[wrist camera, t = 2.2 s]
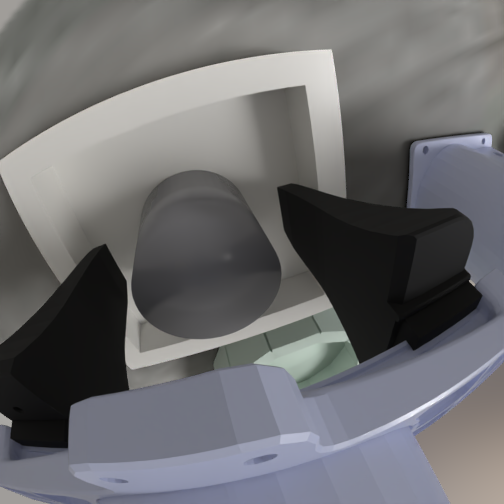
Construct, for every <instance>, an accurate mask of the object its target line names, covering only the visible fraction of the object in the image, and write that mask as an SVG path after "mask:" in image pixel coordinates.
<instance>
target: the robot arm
mask: <svg viewBox="0 0 504 504" xmlns="http://www.w3.org/2000/svg"><path fill="white" fill-rule="evenodd" d="M491 145H492V136H491V134H488V133H477V134H467V135H458V136H449V137H441V138H434V139H427V140H420V141H415V142H413V144H412V145H411V148H410V168H409V185H408V198H407V208H400V207H391V206H382V205H375V204H369V203H364V202H359V201H354V200H350V199H346V198H342V197H338V196H335V195H331V194H328V193H325V192H321V191H318V190H315V189H312V188H309V187H305V186H302V185H298V184H293V183H290V184H287V185H283V186H279V187H277V191H278V197H279V203H280V209H281V215H282V222H283V228H284V231H285V233H286V235H287V237H288V239H289V241H290V243H291V245H292V246H293V248H294V250H295V251H296V252H297V254H298V255H299V257H300V258H301V259H302V261H303V262H304V263H305V265H306V266H307V268H308V269H309V270H310V272H311V273H312V274H313V276H314V277H315V279H316V280H317V281H318V283H319V284H320V286H321V287H322V289H323V290H324V292H325V293H326V295H327V297H328V299H329V301H330V303H331V304H332V306H333V308H334V310H335V312H336V314H337V316H338V318H339V320H340V322H341V324H342V326H343V328H344V330H345V332H346V334H347V336H348V339H349V341H350V343H351V345H352V347H353V350H354V352H355V354H356V357H357V359H358V362H359V365H356V366H354V367H352V368H350V369H348V370H346V371H343V372H341V373H339V374H337V375H334V376H332V377H330V378H327V379H325V380H322V381H320V382H318V383H315V384H313V385H310V386H307V387H305V388H302V389H300V390H299V388H298V385H297V383H296V381H295V379H294V378H293V377H292V376H291V375H290V374H289V373H288V372H287V371H286V370H285V369H284V368H281V367H277V366H269V365H262V364H254V363H250V364H244V365H238V366H232V367H226V368H219V369H216V370H212V371H209V372H205V373H201V374H198V375H194V376H190V377H186V378H182V379H178V380H174V381H170V382H166V383H162V384H157V385H153V386H148V387H143V388H139V389H134V390H129V386H128V379H127V371H126V361H125V336H126V321H127V307H128V292H127V280H126V279H125V277H124V275H123V274H122V272H121V270H120V268H119V267H118V265H117V263H116V261H115V260H114V258H113V256H112V254H111V252H110V251H109V249H108V247H107V245H106V244H103V245H100V246H98V247H95V248H93V249H92V250H91V251H90V252H89V253H88V254H87V255H86V256H85V257H84V258H83V259H82V260H81V261H80V262H79V264H78V265H77V266H76V267H75V268H74V270H73V271H72V272H71V273H70V274H69V276H68V277H67V278H66V279H65V280H64V282H63V283H62V284H61V285H60V286H59V288H58V289H57V290H56V291H55V292H54V294H53V295H52V296H51V297H50V298H49V299H48V301H47V302H46V303H45V304H44V305H43V306H42V307H41V308H40V309H39V310H38V311H37V312H36V313H35V314H34V315H33V316H32V317H31V318H30V319H29V320H28V321H27V322H26V323H25V324H24V325H23V326H22V327H21V328H20V329H19V330H18V331H16V332H15V333H14V334H13V335H12V336H11V337H9V338H8V339H7V340H6V341H4V342H3V343H2V344H1V345H0V413H2V414H3V415H4V416H6V417H7V418H9V419H10V420H12V427H9V426H5V425H0V486H1V487H3V488H5V489H8V490H10V491H12V492H15V493H18V494H20V495H23V496H26V497H28V498H31V499H34V500H38V501H42V502H46V503H50V504H450V502H449V500H448V498H447V496H446V494H445V492H444V490H443V488H442V486H441V484H440V482H439V481H438V479H437V477H436V475H435V473H434V471H433V469H432V467H431V466H430V464H429V462H428V460H427V458H426V456H425V454H424V453H423V451H422V449H421V447H420V445H419V444H418V442H417V440H416V438H415V437H414V436H416V435H417V434H419V433H420V432H422V431H423V430H424V429H426V428H427V427H429V426H430V425H432V424H433V423H434V422H436V421H437V420H438V419H440V418H441V417H442V416H443V415H445V414H446V413H447V412H449V411H450V410H451V409H453V408H454V407H455V406H456V405H458V404H459V403H460V402H461V401H462V400H464V399H465V398H466V397H467V396H468V395H469V394H470V393H472V392H473V391H474V390H475V389H476V388H477V387H478V386H479V385H481V384H482V383H483V382H484V381H485V380H486V379H487V378H488V377H489V376H490V375H491V374H492V373H493V372H494V371H495V370H496V369H497V368H498V367H499V366H500V365H501V364H502V363H503V362H504V153H502V152H500V151H498V150H496V149H494V148H492V147H491ZM423 148H424V150H423ZM470 279H471V280H472V281H473V282H474V283H475V284H476V285H475V286H473V285H472V284H471V283H470V282H469V280H470Z"/></svg>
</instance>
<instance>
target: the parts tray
mask: <svg viewBox="0 0 504 504" xmlns="http://www.w3.org/2000/svg"><path fill="white" fill-rule="evenodd" d="M190 170H204V171H210V172H214V173H217V174H219V175H221V176H223V177H225V178H227V179H228V180H229V181H231V182H232V183H233V184H234V185H235V186H236V187H237V188H238V189H239V191H240V192H241V194H242V195H243V197H244V199H245V200H246V202H247V204H248V205H249V207H250V209H251V211H252V212H253V214H254V216H255V217H256V219H257V221H258V222H259V224H260V226H261V227H262V229H263V231H264V233H265V234H266V236H267V238H268V239H269V241H270V243H271V244H272V246H273V248H274V250H275V251H276V253H277V256H278V258H279V261H280V265H281V273H282V275H281V284H280V288H279V291H278V293H277V296H276V297H275V299H274V301H273V303H272V304H271V305H270V307H269V308H268V309H267V310H266V311H265V313H264V314H263V315H262V316H260V317H259V318H258V319H257V320H256V321H254V322H253V323H251V324H250V325H248V326H247V327H245V328H243V329H241V330H239V331H237V332H234V333H232V334H229V335H225V336H222V337H217V338H211V339H187V338H181V337H177V336H173V335H170V334H168V333H165V332H163V331H161V330H159V329H157V328H156V327H154V326H153V325H152V324H150V323H149V322H148V321H147V320H146V319H145V318H144V317H143V316H142V315H141V313H140V312H139V310H138V309H137V307H136V305H135V303H134V300H133V297H132V291H131V279H132V271H133V264H134V257H135V250H136V243H137V237H138V231H139V225H140V220H141V215H142V210H143V206H144V204H145V201H146V199H147V198H148V196H149V194H150V193H151V192H152V190H153V189H154V188H155V187H156V186H157V185H158V184H159V183H161V182H162V181H163V180H165V179H166V178H168V177H170V176H172V175H174V174H177V173H180V172H184V171H190ZM0 174H1V177H2V179H3V181H4V184H5V186H6V188H7V190H8V192H9V195H10V197H11V199H12V201H13V203H14V205H15V207H16V209H17V211H18V213H19V215H20V217H21V219H22V221H23V223H24V224H25V226H26V228H27V230H28V232H29V234H30V235H31V237H32V239H33V241H34V242H35V244H36V246H37V247H38V249H39V251H40V252H41V254H42V256H43V257H44V259H45V260H46V262H47V264H48V265H49V267H50V268H51V270H52V271H53V273H54V274H55V276H56V277H57V279H58V280H59V282H60V283H61V284H62V283H63V282H64V280H65V279H66V278H67V277H68V276H69V274H70V273H71V272H72V271H73V270H74V268H75V267H76V266H77V265H78V264H79V262H80V261H81V260H82V259H83V258H84V257H85V256H86V255H87V254H88V253H89V252H90V251H91V250H92V249H93V248H95V247H98V246H100V245H103V244H106V245H107V247H108V249H109V251H110V252H111V254H112V256H113V258H114V260H115V261H116V263H117V265H118V267H119V268H120V270H121V272H122V274H123V275H124V277H125V279H126V280H127V292H128V307H127V321H126V336H125V361H126V364H127V365H128V366H129V367H130V368H131V370H133V369H137V368H141V367H146V366H150V365H154V364H158V363H162V362H166V361H170V360H174V359H178V358H181V357H185V356H189V355H192V354H196V353H200V352H203V351H207V350H210V349H213V348H217V347H220V346H223V345H227V344H230V343H233V342H236V341H240V340H243V339H246V338H249V337H252V336H255V335H258V334H261V333H264V332H267V331H270V330H273V329H276V328H279V327H281V326H284V325H287V324H290V323H293V322H295V321H298V320H301V319H303V318H306V317H309V316H311V315H314V314H317V313H319V312H322V311H324V310H327V309H330V308H332V307H333V306H332V304H331V303H330V301H329V299H328V297H327V295H326V293H325V292H324V290H323V289H322V287H321V286H320V284H319V283H318V281H317V280H316V279H315V277H314V276H313V274H312V273H311V272H310V270H309V269H308V268H307V266H306V265H305V263H304V262H303V261H302V259H301V258H300V257H299V255H298V254H297V252H296V251H295V250H294V248H293V246H292V245H291V243H290V241H289V239H288V237H287V235H286V233H285V231H284V228H283V222H282V215H281V209H280V203H279V197H278V191H277V187H279V186H283V185H287V184H290V183H293V184H298V185H302V186H305V187H309V188H312V189H315V190H318V191H321V192H325V193H328V194H331V195H335V196H338V197H342V198H346V178H345V160H344V145H343V133H342V122H341V113H340V104H339V95H338V88H337V80H336V74H335V67H334V61H333V55H332V50H311V51H297V52H287V53H278V54H270V55H263V56H256V57H250V58H244V59H239V60H233V61H228V62H223V63H219V64H214V65H210V66H206V67H202V68H198V69H194V70H190V71H187V72H183V73H179V74H176V75H173V76H169V77H166V78H163V79H160V80H157V81H154V82H151V83H148V84H145V85H142V86H140V87H137V88H134V89H132V90H129V91H126V92H124V93H121V94H119V95H116V96H114V97H112V98H109V99H107V100H105V101H102V102H100V103H98V104H96V105H94V106H91V107H89V108H87V109H85V110H83V111H81V112H79V113H77V114H75V115H73V116H71V117H69V118H67V119H65V120H64V121H62V122H60V123H58V124H56V125H54V126H53V127H51V128H49V129H47V130H46V131H44V132H42V133H41V134H39V135H37V136H36V137H34V138H33V139H31V140H29V141H28V142H26V143H25V144H23V145H22V146H20V147H19V148H17V149H16V150H14V151H13V152H11V153H10V154H8V155H7V156H6V157H4V158H3V159H1V160H0Z"/></svg>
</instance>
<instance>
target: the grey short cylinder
mask: <svg viewBox="0 0 504 504" xmlns="http://www.w3.org/2000/svg"><path fill="white" fill-rule="evenodd" d="M281 275H282V273H281V265H280V261H279V258H278V256H277V253H276V251H275V250H274V248H273V246H272V244H271V243H270V241H269V239H268V238H267V236H266V234H265V233H264V231H263V229H262V227H261V226H260V224H259V222H258V221H257V219H256V217H255V216H254V214H253V212H252V211H251V209H250V207H249V205H248V204H247V202H246V200H245V199H244V197H243V195H242V194H241V192H240V191H239V189H238V188H237V187H236V186H235V185H234V184H233V183H232V182H231V181H229V180H228V179H227V178H225V177H223V176H221V175H219V174H217V173H214V172H210V171H204V170H190V171H184V172H180V173H177V174H174V175H172V176H170V177H168V178H166V179H165V180H163V181H162V182H161V183H159V184H158V185H157V186H156V187H155V188H154V189H153V190H152V192H151V193H150V194H149V196H148V198H147V199H146V201H145V204H144V206H143V210H142V215H141V220H140V225H139V231H138V237H137V243H136V250H135V257H134V264H133V271H132V279H131V291H132V297H133V300H134V303H135V305H136V307H137V309H138V310H139V312H140V313H141V315H142V316H143V317H144V318H145V319H146V320H147V321H148V322H149V323H150V324H152V325H153V326H154V327H156V328H157V329H159V330H161V331H163V332H165V333H168V334H170V335H173V336H177V337H181V338H187V339H211V338H217V337H222V336H225V335H229V334H232V333H234V332H237V331H239V330H241V329H243V328H245V327H247V326H248V325H250V324H251V323H253V322H254V321H256V320H257V319H258V318H259V317H260V316H262V315H263V314H264V313H265V311H266V310H267V309H268V308H269V307H270V305H271V304H272V303H273V301H274V299H275V297H276V296H277V293H278V291H279V288H280V284H281Z"/></svg>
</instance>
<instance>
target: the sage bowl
mask: <svg viewBox="0 0 504 504" xmlns="http://www.w3.org/2000/svg"><path fill="white" fill-rule="evenodd" d="M250 363H254V364H262V365H269V366H277V367H281V368H284V369H285V370H286V371H287V372H288V373H289V374H290V375H291V376H292V377H293V378H294V379H295V381H296V383H297V385H298V388H299V390H300V389H302V388H305V387H307V386H310V385H313V384H315V383H318V382H320V381H322V380H325V379H327V378H330V377H332V376H334V375H337V374H339V373H341V372H343V371H346V370H348V369H350V368H352V367H354V366H356V365H359V362H358V359H357V357H356V354H355V352H354V350H353V347H352V345H351V343H350V341H349V339H348V336H347V334H346V332H345V330H344V328H343V326H342V324H341V322H340V320H339V318H338V316H337V314H336V312H335V310H334V308H333V307H332V308H330V309H327V310H324V311H322V312H319V313H317V314H314V315H311V316H309V317H306V318H303V319H301V320H298V321H295V322H293V323H290V324H287V325H284V326H281V327H279V328H276V329H273V330H270V331H267V332H264V333H261V334H258V335H255V336H252V337H249V338H246V339H243V340H240V341H236V342H233V343H230V344H227V345H223V346H220V347H219V350H218V353H217V355H216V358H215V360H214V363H213V365H214V370H216V369H219V368H226V367H232V366H238V365H244V364H250Z"/></svg>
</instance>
